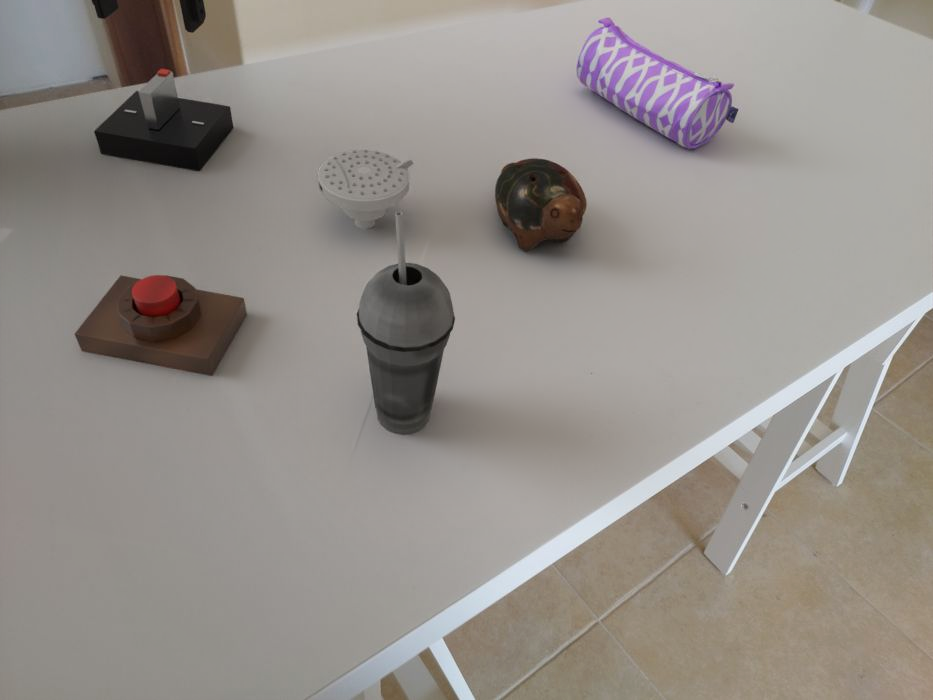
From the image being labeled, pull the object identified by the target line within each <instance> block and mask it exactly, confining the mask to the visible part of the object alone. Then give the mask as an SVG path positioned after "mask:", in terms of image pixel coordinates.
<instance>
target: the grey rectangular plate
mask: <svg viewBox="0 0 933 700" xmlns="http://www.w3.org/2000/svg"><path fill="white" fill-rule="evenodd" d="M138 91H139V96H140V100H141V104H142V108H143V112H144V115H145V119H146V123H147V127H148V128H150V129H156V130H160V128H161V127H162V126H163V125H164V124H165V123H166V122H167V121H168V120H169V119H170V118H171V117H172V116H173V115H174V113H175V112H176V111H177V110H178V109H179V108H180V105H179V100H178V98H179V96H178V91H177V87H176V82H175V77H174V73H173V71H171V69H166V68H160V69H158V71H157V73H156V74H155V75H154V76H153V77H152V78H151V79H150V80H149V81H148V82H146V84H145V85H144V86H143V87H142V88H140V89H139V90H138Z"/></svg>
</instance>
